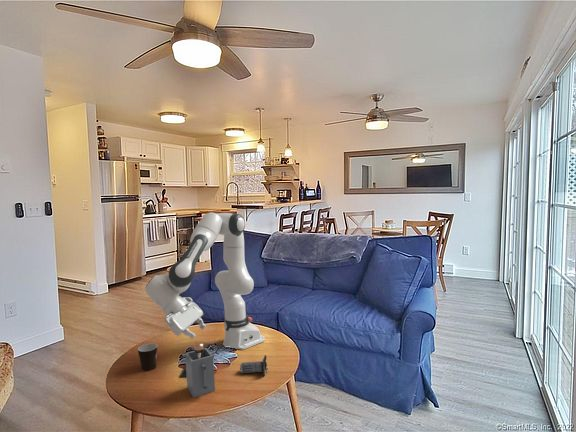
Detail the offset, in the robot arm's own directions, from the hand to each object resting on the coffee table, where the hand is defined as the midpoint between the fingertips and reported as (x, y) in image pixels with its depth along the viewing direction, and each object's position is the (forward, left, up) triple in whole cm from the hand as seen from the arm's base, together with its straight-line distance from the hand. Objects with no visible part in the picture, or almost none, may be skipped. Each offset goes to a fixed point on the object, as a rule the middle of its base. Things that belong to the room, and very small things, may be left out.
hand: (199, 332), depth 147 cm
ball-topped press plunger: (0, 0, -19) cm, 19 cm away
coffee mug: (+14, -33, -25) cm, 44 cm away
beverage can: (-24, 0, -25) cm, 35 cm away
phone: (-2, -19, -25) cm, 32 cm away
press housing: (0, +1, -24) cm, 24 cm away
